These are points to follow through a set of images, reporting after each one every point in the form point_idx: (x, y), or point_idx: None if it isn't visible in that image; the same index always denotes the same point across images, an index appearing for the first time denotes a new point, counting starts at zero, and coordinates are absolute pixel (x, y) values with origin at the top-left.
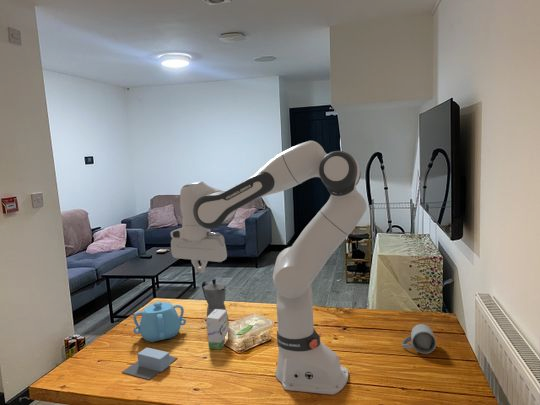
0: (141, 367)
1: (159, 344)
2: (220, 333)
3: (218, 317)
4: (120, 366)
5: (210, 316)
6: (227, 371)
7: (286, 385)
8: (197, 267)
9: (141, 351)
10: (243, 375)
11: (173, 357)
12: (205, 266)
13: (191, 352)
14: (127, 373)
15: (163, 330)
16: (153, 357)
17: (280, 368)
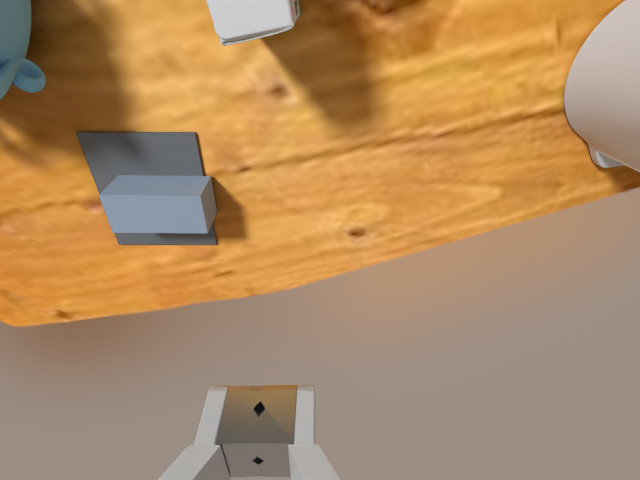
0: None
1: None
2: (296, 7)
3: (281, 3)
4: (82, 223)
5: (229, 14)
6: (399, 140)
7: (608, 163)
8: (233, 470)
9: (110, 219)
10: (457, 142)
11: (180, 137)
12: (322, 450)
13: (206, 78)
14: (140, 244)
15: (14, 70)
16: (180, 232)
17: (609, 144)
